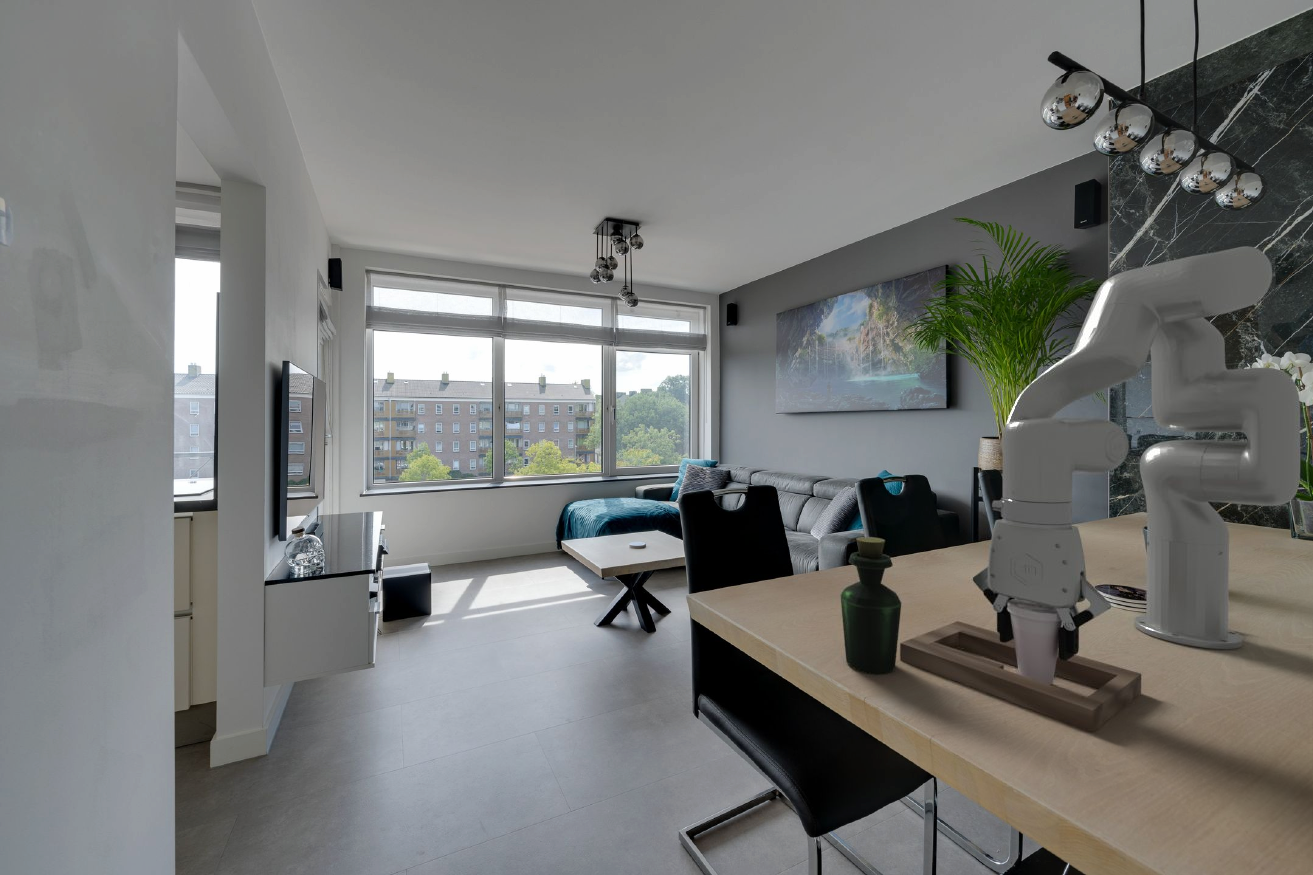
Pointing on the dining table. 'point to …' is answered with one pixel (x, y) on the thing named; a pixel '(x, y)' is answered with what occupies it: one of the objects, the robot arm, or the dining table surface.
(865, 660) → the potion bottle
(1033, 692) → the keyhole board
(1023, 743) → the dining table surface
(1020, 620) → the smoothie
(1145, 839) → the dining table surface
